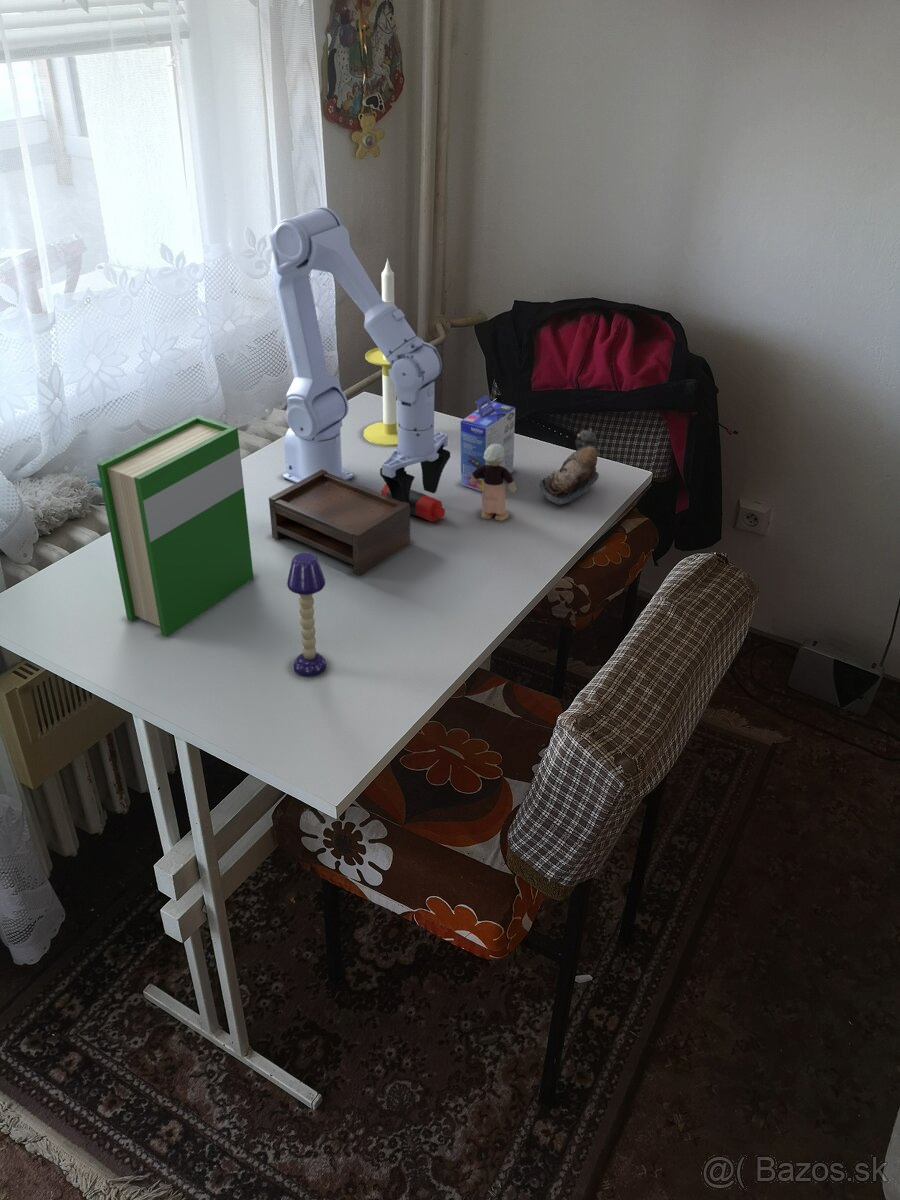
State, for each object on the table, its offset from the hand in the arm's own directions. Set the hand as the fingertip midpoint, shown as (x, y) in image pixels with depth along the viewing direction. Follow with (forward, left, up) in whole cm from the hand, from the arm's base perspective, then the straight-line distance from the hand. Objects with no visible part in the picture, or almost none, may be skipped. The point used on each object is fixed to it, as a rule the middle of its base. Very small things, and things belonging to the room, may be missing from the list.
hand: (415, 499), depth 168 cm
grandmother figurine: (+11, +6, -2) cm, 13 cm away
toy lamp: (+15, -41, -2) cm, 44 cm away
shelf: (-3, -15, -2) cm, 15 cm away
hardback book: (-9, -40, -2) cm, 41 cm away
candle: (-21, +19, -2) cm, 28 cm away
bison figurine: (+17, +20, -2) cm, 26 cm away
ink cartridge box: (+3, +16, -2) cm, 16 cm away
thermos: (0, 0, -1) cm, 1 cm away
